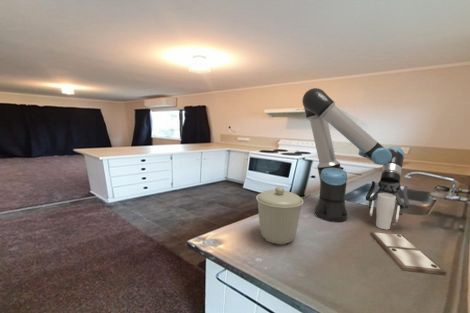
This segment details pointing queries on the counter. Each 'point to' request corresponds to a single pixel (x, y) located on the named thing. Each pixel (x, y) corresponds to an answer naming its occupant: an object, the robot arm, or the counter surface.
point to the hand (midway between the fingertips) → (383, 217)
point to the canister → (279, 215)
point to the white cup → (385, 210)
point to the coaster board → (406, 253)
